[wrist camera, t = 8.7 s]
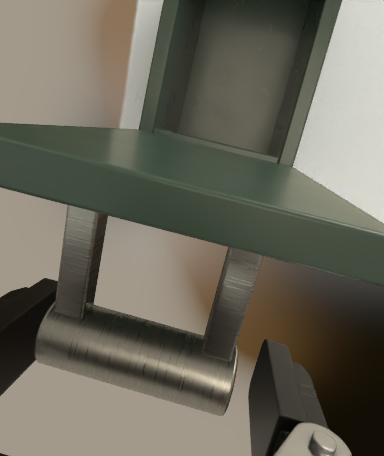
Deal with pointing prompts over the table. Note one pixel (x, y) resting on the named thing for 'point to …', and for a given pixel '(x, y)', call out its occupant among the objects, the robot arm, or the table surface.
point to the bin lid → (182, 224)
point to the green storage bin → (238, 73)
